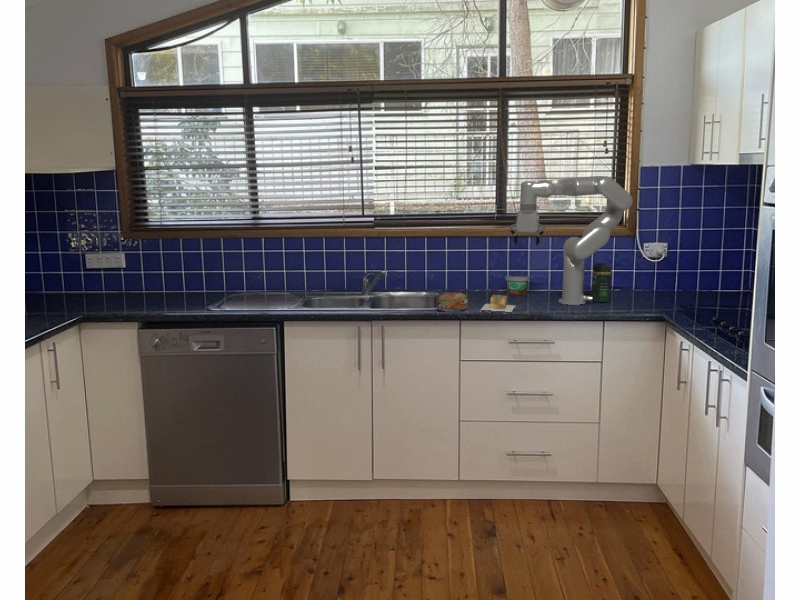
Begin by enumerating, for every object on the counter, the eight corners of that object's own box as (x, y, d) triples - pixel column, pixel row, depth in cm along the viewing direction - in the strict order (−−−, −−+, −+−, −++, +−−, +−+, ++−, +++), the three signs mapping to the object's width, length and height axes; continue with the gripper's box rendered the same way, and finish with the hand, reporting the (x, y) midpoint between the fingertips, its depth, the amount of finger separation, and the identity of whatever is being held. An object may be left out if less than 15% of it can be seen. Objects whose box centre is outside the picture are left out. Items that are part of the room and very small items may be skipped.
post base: (515, 307, 322) (515, 293, 320) (511, 313, 308) (512, 298, 307) (485, 305, 325) (485, 291, 324) (480, 311, 312) (481, 297, 311)
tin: (437, 312, 311) (437, 294, 310) (435, 310, 314) (435, 292, 313) (468, 310, 315) (469, 292, 314) (466, 309, 318) (466, 291, 317)
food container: (503, 295, 350) (503, 276, 348) (504, 293, 355) (505, 274, 353) (527, 297, 346) (528, 277, 344) (529, 295, 352) (529, 275, 350)
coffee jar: (611, 303, 332) (613, 265, 329) (594, 303, 332) (597, 265, 329) (605, 299, 342) (607, 262, 338) (589, 299, 342) (591, 262, 338)
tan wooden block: (506, 306, 319) (506, 295, 318) (504, 309, 313) (505, 298, 312) (492, 305, 321) (492, 295, 320) (490, 308, 314) (490, 297, 314)
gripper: (547, 208, 323) (545, 244, 327) (510, 207, 328) (509, 243, 331) (546, 209, 316) (544, 246, 320) (508, 208, 321) (507, 244, 324)
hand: (526, 244), depth 326 cm, fingers open, 9 cm apart
